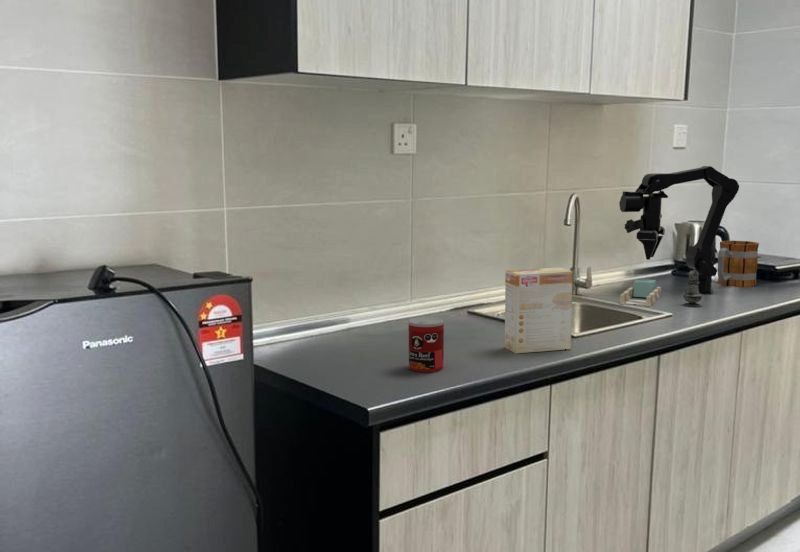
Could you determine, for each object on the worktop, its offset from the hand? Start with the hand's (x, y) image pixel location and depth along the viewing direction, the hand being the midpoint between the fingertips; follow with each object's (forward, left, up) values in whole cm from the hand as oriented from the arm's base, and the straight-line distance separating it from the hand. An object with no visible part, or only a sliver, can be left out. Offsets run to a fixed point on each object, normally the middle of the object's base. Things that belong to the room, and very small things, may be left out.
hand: (649, 258), depth 264 cm
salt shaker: (+16, +16, -12) cm, 25 cm away
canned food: (+116, -28, -12) cm, 120 cm away
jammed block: (+7, 0, -12) cm, 13 cm away
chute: (+13, 0, -12) cm, 18 cm away
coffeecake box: (+88, -11, -12) cm, 89 cm away
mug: (-30, +24, -12) cm, 40 cm away
